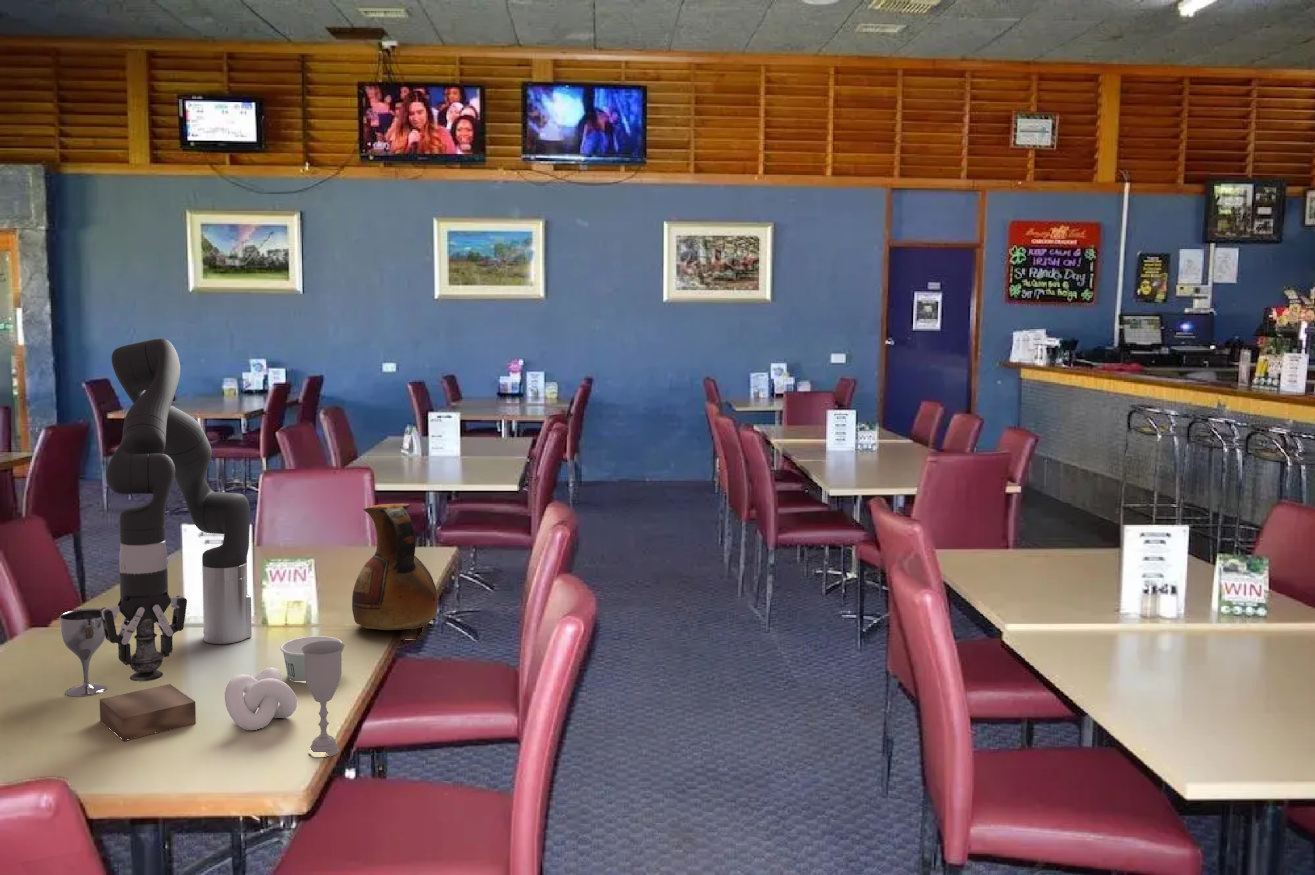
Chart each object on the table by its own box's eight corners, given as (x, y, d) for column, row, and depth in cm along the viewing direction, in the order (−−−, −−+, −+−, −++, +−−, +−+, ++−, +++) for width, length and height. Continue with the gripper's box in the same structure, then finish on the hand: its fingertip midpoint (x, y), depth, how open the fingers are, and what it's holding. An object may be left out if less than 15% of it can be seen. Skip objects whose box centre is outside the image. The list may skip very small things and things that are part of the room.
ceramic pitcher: (411, 611, 255) (411, 493, 252) (453, 630, 240) (454, 505, 237) (337, 625, 242) (336, 501, 239) (377, 646, 227) (377, 514, 224)
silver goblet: (61, 700, 190) (58, 622, 189) (63, 686, 198) (61, 611, 196) (109, 694, 194) (107, 617, 193) (110, 680, 201) (108, 606, 200)
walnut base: (170, 704, 190) (169, 684, 189) (195, 723, 181) (195, 701, 181) (100, 721, 181) (99, 699, 181) (123, 741, 173) (122, 718, 172)
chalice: (308, 743, 174) (307, 640, 172) (349, 742, 175) (348, 640, 173) (297, 761, 167) (296, 654, 165) (339, 760, 168) (339, 654, 166)
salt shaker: (149, 683, 177) (148, 616, 176) (120, 680, 178) (118, 613, 177) (172, 672, 183) (170, 607, 181) (143, 669, 184) (141, 604, 183)
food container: (354, 676, 208) (353, 645, 207) (298, 690, 199) (298, 658, 198) (324, 662, 216) (324, 632, 215) (269, 675, 207) (269, 644, 206)
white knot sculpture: (250, 742, 174) (250, 691, 173) (207, 726, 180) (206, 677, 180) (305, 721, 184) (304, 673, 183) (262, 707, 190) (261, 660, 189)
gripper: (178, 557, 186) (180, 646, 188) (91, 568, 176) (94, 663, 178) (194, 564, 181) (195, 656, 183) (106, 577, 171) (108, 674, 172)
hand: (145, 659), depth 180 cm, fingers closed on salt shaker, 6 cm apart
